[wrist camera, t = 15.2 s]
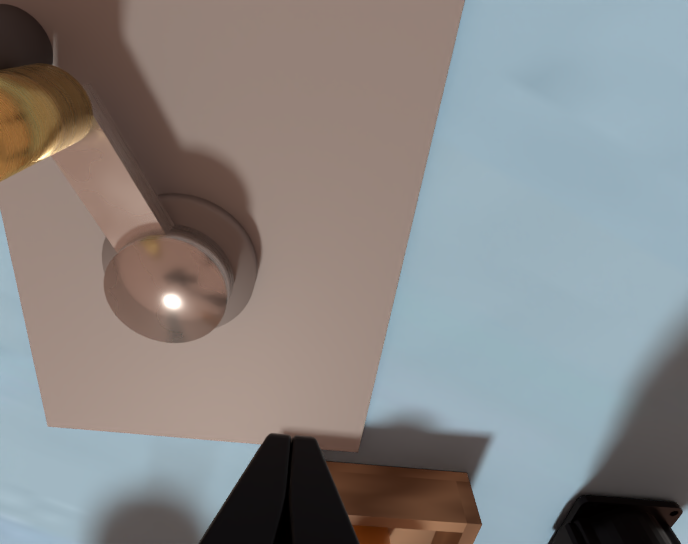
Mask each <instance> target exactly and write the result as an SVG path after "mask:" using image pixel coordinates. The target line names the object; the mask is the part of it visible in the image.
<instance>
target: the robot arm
mask: <svg viewBox="0 0 688 544" xmlns="http://www.w3.org/2000/svg"><path fill="white" fill-rule="evenodd" d="M682 512H683V511H682V509H681V508H680V506H679V505H678V504H677V503H675V502H665V501H652V500H640V499H627V498H615V497H602V496H589V495H586V496H582V497H580V498H578V500H577V501H576V503H575V504H574V506H573V508H572V509H571V511H570V512H569V514H568V516H567V517H566V519H565V521H564V522H563V524H562V526H561V527H560V529H559V531H558V532H557V534H556V536H555V537H554V539H553V541H552V542H551V544H681V543H680V541H679V540H678V538H677V537H676V535H675V534H674V532H673V530H672V529H671V527H672V526H673V524H674V523H675V522H676V521H677V519H678V518H679V517H680V516H681V514H682ZM198 544H360V543H359V541H358V538H357V536H356V533H355V531H354V528H353V526H352V524H351V521H350V519H349V516H348V514H347V512H346V509H345V507H344V504H343V502H342V500H341V497H340V495H339V492H338V490H337V487H336V485H335V483H334V480H333V478H332V475H331V473H330V471H329V468H328V466H327V463H326V461H325V459H324V456H323V454H322V451H321V449H320V446H319V444H318V442H317V440H316V438H314V437H312V436H301V435H295V436H293V438H291V436H290V435H288V434H278V433H270V434H269V435H268V436H267V437H266V438H265V440H264V441H263V443H262V444H261V446H260V448H259V449H258V451H257V452H256V454H255V455H254V457H253V459H252V460H251V462H250V463H249V465H248V466H247V468H246V470H245V471H244V473H243V474H242V476H241V477H240V479H239V480H238V482H237V484H236V485H235V487H234V488H233V490H232V491H231V493H230V495H229V496H228V498H227V499H226V501H225V502H224V504H223V506H222V507H221V509H220V510H219V512H218V513H217V515H216V517H215V518H214V520H213V521H212V523H211V524H210V526H209V528H208V529H207V531H206V532H205V534H204V535H203V537H202V539H201V540H200V542H199V543H198Z"/></svg>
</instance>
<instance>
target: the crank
mask: <svg viewBox="0 0 688 544" xmlns="http://www.w3.org/2000/svg"><path fill="white" fill-rule="evenodd" d="M49 156H52V158H53V159H54V161H55V162H56V164H57V165H58V167H59V168H60V170H61V171H62V173H63V174H64V176H65V177H66V179H67V180H68V181H69V183H70V184H71V186H72V187H73V189H74V190H75V192H76V193H77V195H78V196H79V198H80V199H81V201H82V202H83V204H84V205H85V206H86V208H87V209H88V211H89V212H90V214H91V215H92V217H93V218H94V220H95V221H96V223H97V224H98V226H99V227H100V228H101V230H102V231H103V233H104V234H105V236H106V237H107V239H108V240H109V242H110V243H111V245H112V246H113V248H114V249H115V251H116V252H117V254H116V255H115V256H114V257H113V259H112V260H111V261H110V263H109V264H108V266H107V268H106V271H105V274H104V293H105V296H106V300H107V302H108V304H109V306H110V308H111V309H112V311H113V313H114V314H115V315H116V316H117V317H118V319H119V320H120V321H121V322H122V323H123V324H125V325H126V326H127V327H128V328H130V329H131V330H133V331H134V332H136V333H138V334H140V335H142V336H144V337H147V338H149V339H152V340H156V341H160V342H166V343H184V342H190V341H194V340H197V339H199V338H202V337H204V336H205V335H207V334H209V333H210V332H211V331H213V330H214V329H215V328H216V327H217V325H218V324H219V323H220V321H221V319H222V317H223V315H224V313H225V310H226V307H227V304H228V301H229V299H230V296H231V293H232V290H233V284H234V276H233V270H232V267H231V263H230V261H229V259H228V257H227V256H226V254H225V253H224V251H223V250H222V249H221V247H220V246H219V245H218V244H217V243H216V242H215V241H214V240H212V239H211V238H210V237H208V236H207V235H205V234H203V233H202V232H200V231H198V230H195V229H193V228H190V227H187V226H183V225H178V224H174V222H173V221H172V219H171V217H170V216H169V214H168V212H167V210H166V209H165V207H164V205H163V204H162V202H161V200H160V199H159V197H158V195H157V194H156V192H155V190H154V189H153V187H152V185H151V183H150V182H149V180H148V178H147V177H146V175H145V173H144V172H143V170H142V168H141V167H140V165H139V163H138V162H137V160H136V158H135V156H134V155H133V153H132V151H131V150H130V148H129V146H128V145H127V143H126V141H125V140H124V138H123V136H122V134H121V133H120V131H119V129H118V128H117V126H116V124H115V123H114V121H113V119H112V118H111V116H110V114H109V113H108V111H107V109H106V107H105V106H104V104H103V102H102V101H101V99H100V97H99V96H98V94H97V92H96V91H95V89H94V87H93V86H92V84H91V83H89V84H85V85H81V84H80V83H79V82H78V81H77V80H76V79H75V78H74V77H73V76H72V75H70V74H69V73H68V72H66V71H65V70H63V69H61V68H59V67H56V66H53V65H50V64H43V63H36V64H30V65H25V66H19V67H14V68H8V69H2V70H0V182H1V181H3V180H5V179H7V178H9V177H10V176H12V175H14V174H16V173H18V172H20V171H22V170H24V169H26V168H28V167H30V166H32V165H34V164H36V163H38V162H40V161H42V160H43V159H45V158H47V157H49Z"/></svg>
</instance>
